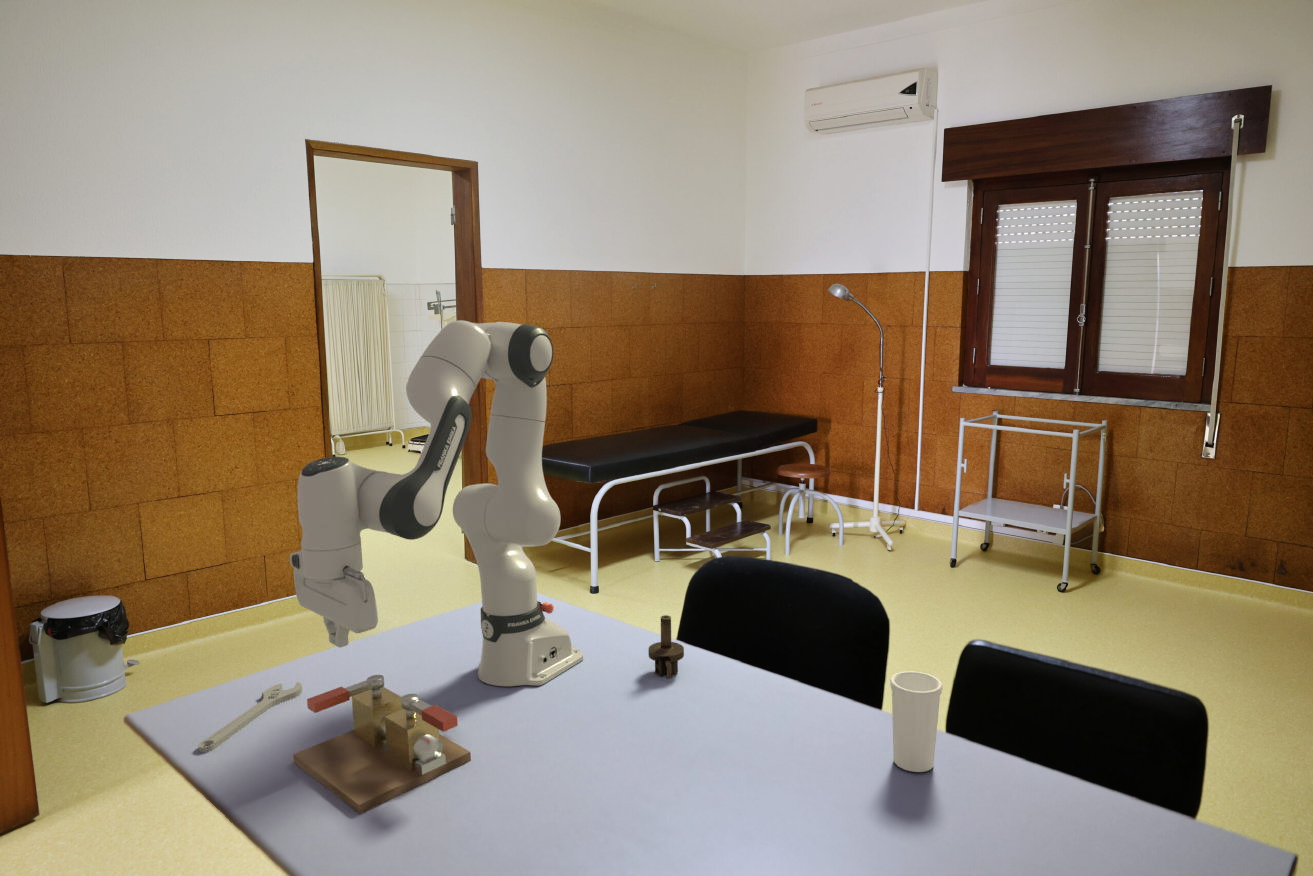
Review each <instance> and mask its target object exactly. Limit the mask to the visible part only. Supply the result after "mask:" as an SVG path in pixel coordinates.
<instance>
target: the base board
mask: <svg viewBox="0 0 1313 876" xmlns="http://www.w3.org/2000/svg"><path fill="white" fill-rule="evenodd" d="M439 740H440V741H441V742H442V744H443V750H442V753H443V754H444V755H445V758H446V764H444V765H442V766H440V767H438V768H436V769H434V770H431V771H429V772H427V773H425V774H423V775H422V774H420V773H419V772H417V771H416V770H415V769H413V770H411V771H410V770H408V769H407V768H405V767H404V766H402V765H401V764H399V763H398V762H396V761H395V760H393V759H392V758H390V757H389V756H388V755H387V751H385V750H384V749H383V744H382V745H380V746H378V747H374V746H372V745H371V744H369V743H368V742H366V741H365V740H363V739H362V738H360V737H358V736H357V735H355V733H354V729H352V730H349V731H348V732H344V733H342V734H340V735H337V736H335V737H332V738H330V739H328V740H324V741H322V742H320V743H318V744H315V745H313V746H311V747H308V748H306V749H303V750H301V751H299V752H295V753H293V754H292V755H293V756H292V757H293V763H294V764H295V765H297V766H298V767H299V768H301V770H303V771H304V772H306V773H307V774H308V775H309V776H310V777H312V779H315V780H316V781H317V782H319V783H320V784H321V785H322V786H324V787H325V788H326V789H327V790H329V791H330V792H331V793H333V795H335V796H336V797H337V798H339V799H340V800H341V801H343V802H344V803H345V804H346V805H348V807H351V808H352V809H353V810H354V811H355V812H356V813H357V814H363V813H366V812H367V811H369V810H371V809H373V808H376V807H378V806H379V805H382V804H385V802H388V801H390V800H391V799H394V798H395V797H399V796H400V795H402V794H405V793H406V792H408V791H411V790H412V789H414V788H416V787H419V786H421V785H423V784H425V783H426V782H430V781H431V780H433V779H436V778H437V777H439V776H442V775H443V774H445V773H447V772H449V771H451V770H454V769H455V768H457V767H460V766H462V765H465V764H466V763H468V762H470V761H472V758H471V751H470V750H469V749H466V748H464V747H463V746H461V745H459V744H458V743H456V742H454V741H453V740H451V739H449V738H447V737H445V736H444V735H442V734H441V733H439Z"/></svg>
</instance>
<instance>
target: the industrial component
mask: <svg viewBox="0 0 1313 876" xmlns="http://www.w3.org/2000/svg"><path fill="white" fill-rule="evenodd" d="M684 656H685V647H684V646H683V645H682V644H681V643H679V642H675V641H672V616H671V615H667V614H665V615H661V616H660V641H658V642H655V643H652V644H650V645H649V646H648V658H649V659H651V660H652V661H654V673H655V675H657V676H659V677H664V676H667V678H666V679H670V678H671V679H672V678H673V677H674V676H677V674H679V673H678V672H679V661H681V660H682V659H683V658H684Z"/></svg>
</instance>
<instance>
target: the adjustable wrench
mask: <svg viewBox="0 0 1313 876" xmlns="http://www.w3.org/2000/svg"><path fill="white" fill-rule="evenodd" d="M301 693H302V694H303V685H302V683H301V682H299V681H296V683H295V685H294V687H291V688H288V689H283V683H277V684H276V685H273V686H270V687H269V688H267V689H266V690H265V691H262V692H261V696H260V700H261V701H259V702H258V703H256V704H255V705H253V706H252V707H251V708H249V709H248V710H245V712H243V713H242V714H240V715H239V716H237V717H236V718H234V719H233V720H232V721H230V722H229V723H227V724H226V725H224V726H223V727H221V728H220V729H219V730H216V731H215V732H214V733H213V734H211V735H209V736H208V737H207V738H206V739H204V740H202V741H201V742H199V744H198V752H199V751H200V752H199V753H201V752H202V753H203V754H205V753H210V752H213V751H214V750H216V749H217V748H218V747H220V746H221V745H222V744H224V743H225V742H226V741H228V740H229V739H231V738H232V737H233V736H235V735H236V734H237V733H239V732H240V731H242V730H243V729H244V728H246V727H247V726H248V725H250V724H251V723H252V722H251V721H253V720H254V719H255V720H257V719H258V718H259V717H260V715H261V714H262V715H264V714H265V713H266V712H268V711H269V710H271V709H272V708H274V707H276V706H278V705H280V703H281V704H283V703H285V701H286V702H288V701H291V700H293V698H294V699H296V698H298V697H300V696H301V695H302V694H301ZM300 694H301V695H300ZM297 696H298V697H297ZM290 699H291V700H290ZM287 700H288V701H287ZM282 702H283V703H282ZM275 705H276V706H275ZM273 706H274V707H273ZM271 707H272V708H271ZM270 708H271V709H270ZM268 709H269V710H268ZM267 710H268V711H267ZM264 712H265V713H264ZM263 713H264V714H263ZM262 715H261V716H262ZM258 716H259V717H258ZM257 717H258V718H257ZM256 718H257V719H256ZM255 720H254V721H255ZM250 722H251V723H250ZM249 723H250V724H249ZM246 725H247V726H246ZM245 726H246V727H245ZM242 728H243V729H242ZM241 729H242V730H241ZM239 730H240V731H239ZM238 731H239V732H238ZM235 733H236V734H235ZM234 734H235V735H234ZM232 735H233V736H232ZM231 736H232V737H231ZM230 737H231V738H230ZM223 742H224V743H223ZM219 745H220V746H219ZM206 746H207V747H206ZM209 751H210V752H209ZM204 752H205V753H204Z"/></svg>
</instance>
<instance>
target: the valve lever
mask: <svg viewBox="0 0 1313 876" xmlns="http://www.w3.org/2000/svg"><path fill="white" fill-rule="evenodd" d="M384 686H385V676H384V675H382V674H374V675H370V676H368V677H367V678H366V680H363V681H360V682H358V683H354V684H353V685H350V686H347V687H343V686H339V687H336V688H333V689H331V690H328V691H326V692H323V693H320V694H317V695H315V696H312V697H309V698H307V699H306V706H307V709H308V710H309V711H311V712H313V713H314V714H316V713H320V712H322V711H324V710H325V711H326V710H327V709H330V708H333V707H335V706H338V705H341V704H344V703H346V702H349V701H350V700H351V699H350V698H352V696H354V695H357V694H360V693H362V692H365V691H368V690H370V689H371V690H375V689H380V688H382V687H384Z"/></svg>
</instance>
